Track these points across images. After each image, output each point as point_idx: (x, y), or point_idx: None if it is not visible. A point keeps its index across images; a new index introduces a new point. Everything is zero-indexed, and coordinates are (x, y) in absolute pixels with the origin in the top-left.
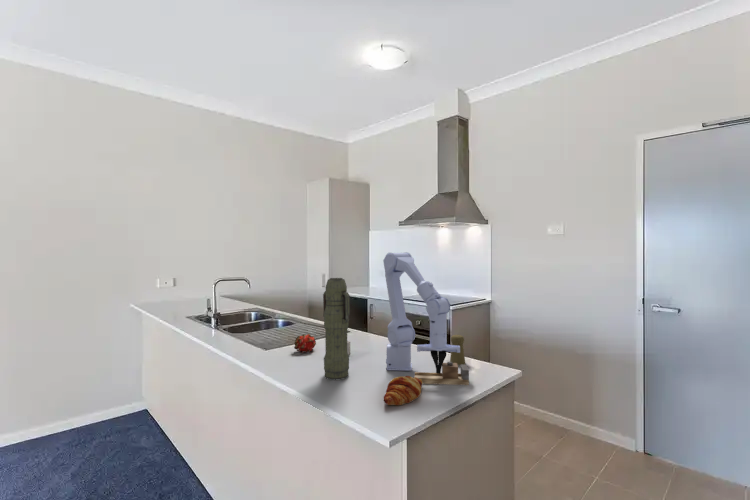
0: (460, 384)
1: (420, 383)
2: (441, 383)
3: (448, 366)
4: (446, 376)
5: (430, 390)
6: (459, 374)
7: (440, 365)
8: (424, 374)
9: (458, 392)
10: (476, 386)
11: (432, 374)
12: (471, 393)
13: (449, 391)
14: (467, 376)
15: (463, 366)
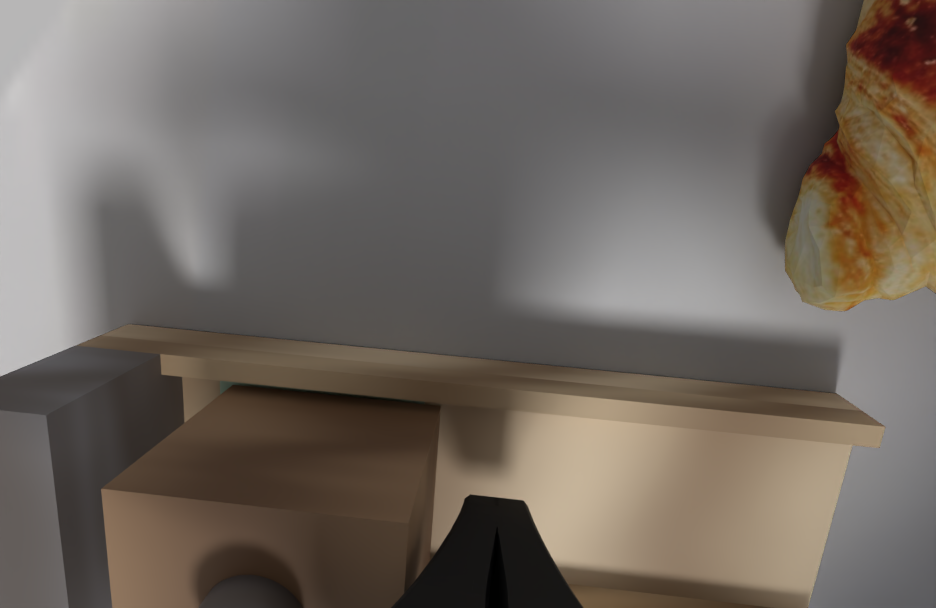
0: (228, 336)
1: (921, 40)
2: (472, 360)
3: (294, 530)
4: (383, 420)
5: (665, 135)
6: None
7: (456, 569)
8: (670, 602)
9: (284, 69)
10: (40, 286)
11: None
12: (115, 37)
13: (402, 103)
14: (56, 363)
15: (31, 597)
